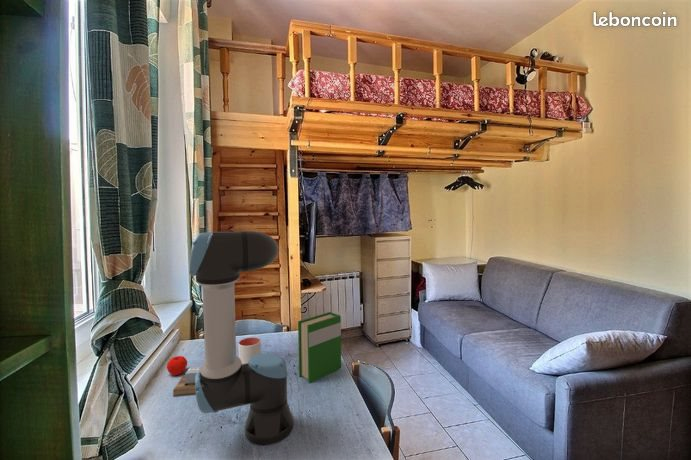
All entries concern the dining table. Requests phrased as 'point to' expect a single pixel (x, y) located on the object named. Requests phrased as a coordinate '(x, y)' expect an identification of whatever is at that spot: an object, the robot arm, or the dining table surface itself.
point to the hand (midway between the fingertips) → (222, 320)
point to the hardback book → (319, 346)
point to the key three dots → (191, 374)
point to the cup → (249, 348)
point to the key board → (184, 388)
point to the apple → (177, 365)
